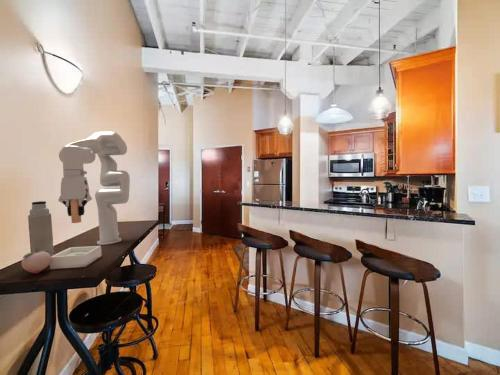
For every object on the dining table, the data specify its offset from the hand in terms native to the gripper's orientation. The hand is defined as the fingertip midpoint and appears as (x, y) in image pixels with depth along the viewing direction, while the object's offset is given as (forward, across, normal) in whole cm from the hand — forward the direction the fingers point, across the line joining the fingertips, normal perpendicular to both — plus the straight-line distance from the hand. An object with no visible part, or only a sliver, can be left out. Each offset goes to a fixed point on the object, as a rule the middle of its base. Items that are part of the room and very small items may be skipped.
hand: (76, 215), depth 117 cm
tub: (+21, +1, -1) cm, 21 cm away
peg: (+3, 0, 0) cm, 3 cm away
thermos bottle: (+21, +15, 0) cm, 26 cm away
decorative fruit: (+22, +10, +11) cm, 26 cm away
